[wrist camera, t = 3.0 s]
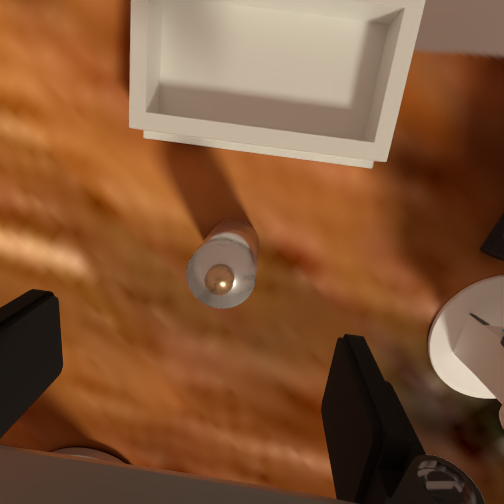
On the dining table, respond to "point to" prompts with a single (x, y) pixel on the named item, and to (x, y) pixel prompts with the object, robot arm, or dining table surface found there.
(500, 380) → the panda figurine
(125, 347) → the dining table surface
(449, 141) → the dining table surface
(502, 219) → the ammunition clip
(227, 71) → the trough
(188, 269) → the cylinder
